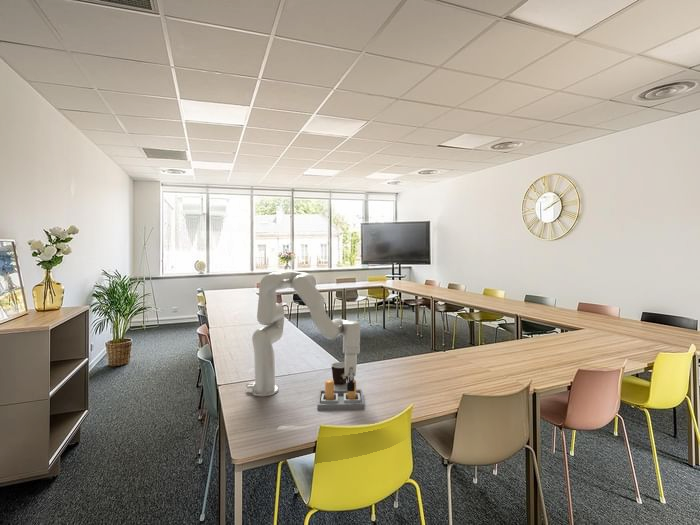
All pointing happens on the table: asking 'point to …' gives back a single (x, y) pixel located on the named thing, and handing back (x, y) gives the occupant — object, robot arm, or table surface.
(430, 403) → the table surface
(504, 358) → the table surface
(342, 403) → the grey pin holder tray
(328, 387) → the pin
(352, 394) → the pin
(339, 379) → the coffee mug
